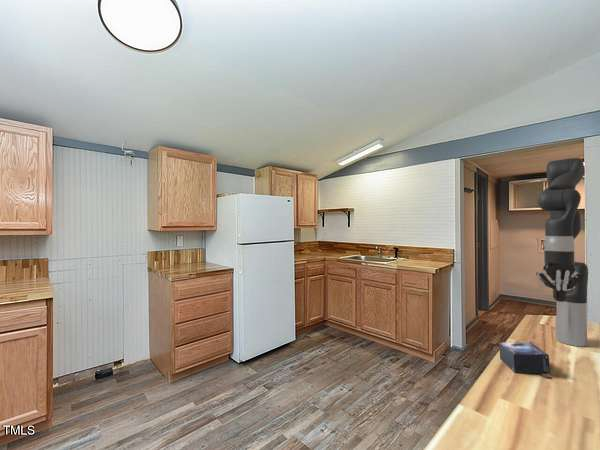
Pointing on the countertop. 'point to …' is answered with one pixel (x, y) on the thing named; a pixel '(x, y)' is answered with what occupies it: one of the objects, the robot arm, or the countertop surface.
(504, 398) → the countertop surface
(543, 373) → the stop strip
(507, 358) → the small box
